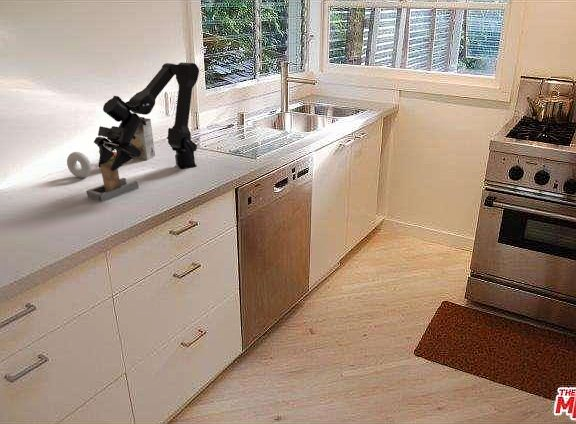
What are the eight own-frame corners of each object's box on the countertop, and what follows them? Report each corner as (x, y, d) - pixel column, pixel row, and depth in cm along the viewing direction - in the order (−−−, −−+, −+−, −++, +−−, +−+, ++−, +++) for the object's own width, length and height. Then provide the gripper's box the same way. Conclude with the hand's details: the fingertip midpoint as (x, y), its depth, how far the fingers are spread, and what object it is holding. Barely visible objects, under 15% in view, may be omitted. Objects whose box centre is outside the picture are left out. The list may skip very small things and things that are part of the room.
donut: (95, 177, 188) (90, 151, 184) (88, 180, 185) (83, 154, 181) (74, 174, 191) (69, 149, 187) (67, 177, 188) (62, 152, 184)
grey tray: (124, 184, 179) (123, 177, 178) (138, 188, 175) (137, 181, 174) (87, 197, 168) (86, 190, 167) (102, 202, 164) (100, 195, 163)
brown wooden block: (115, 188, 174) (110, 161, 170) (121, 190, 172) (116, 162, 168) (105, 192, 171) (100, 164, 167) (111, 194, 169) (106, 166, 165)
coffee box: (128, 158, 208) (122, 120, 202) (137, 154, 214) (132, 117, 207) (147, 160, 205) (141, 121, 199) (156, 155, 211) (150, 118, 204)
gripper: (93, 113, 169) (70, 153, 165) (128, 119, 159) (104, 161, 155) (116, 130, 178) (95, 168, 174) (151, 137, 168) (129, 178, 164)
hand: (105, 169), depth 167 cm, fingers open, 6 cm apart
